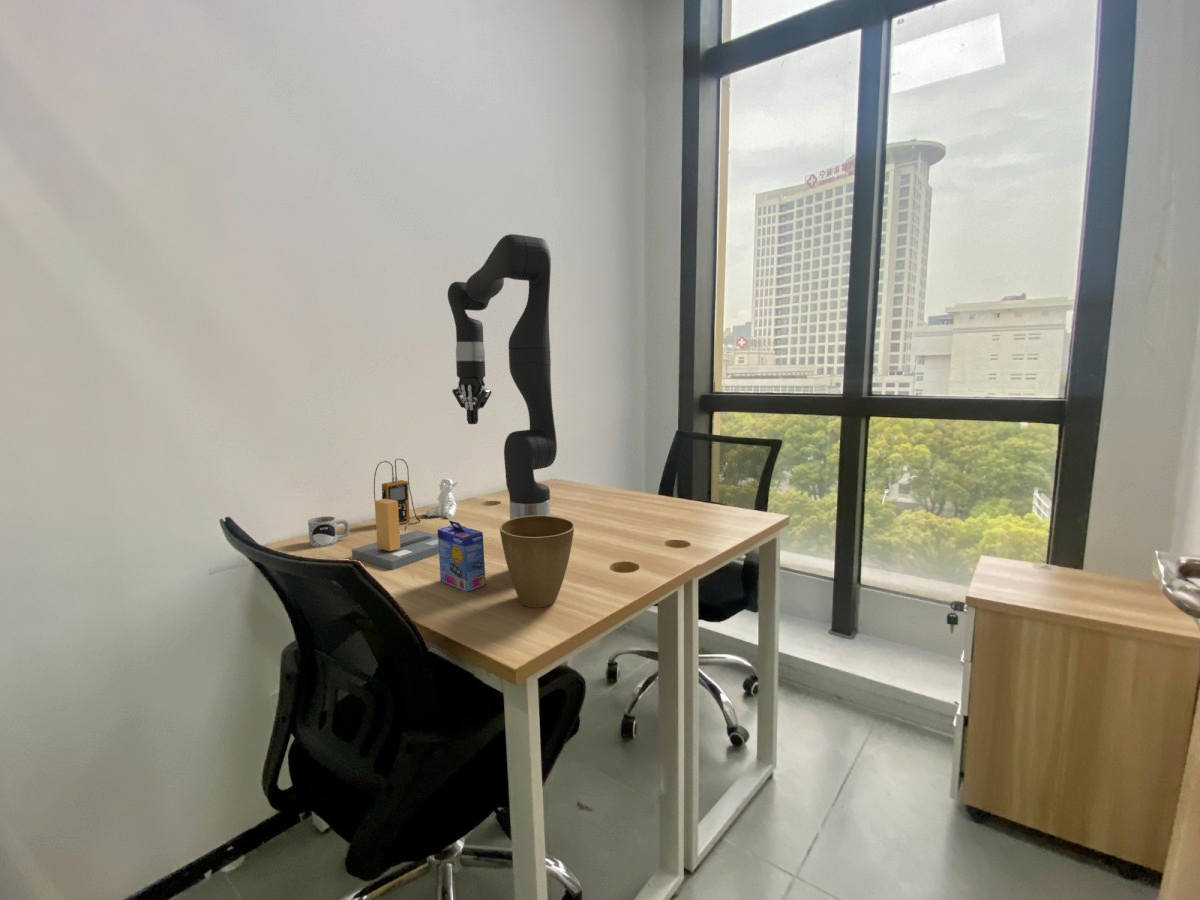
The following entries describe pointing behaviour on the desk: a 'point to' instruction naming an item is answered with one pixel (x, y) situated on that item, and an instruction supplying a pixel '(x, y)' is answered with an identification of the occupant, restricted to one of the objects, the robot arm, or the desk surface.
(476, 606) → the desk surface
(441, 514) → the white creature statuette
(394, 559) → the switch panel
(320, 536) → the mug
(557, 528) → the plant pot
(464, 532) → the ink cartridge box
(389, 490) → the multimeter
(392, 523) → the switch tab
